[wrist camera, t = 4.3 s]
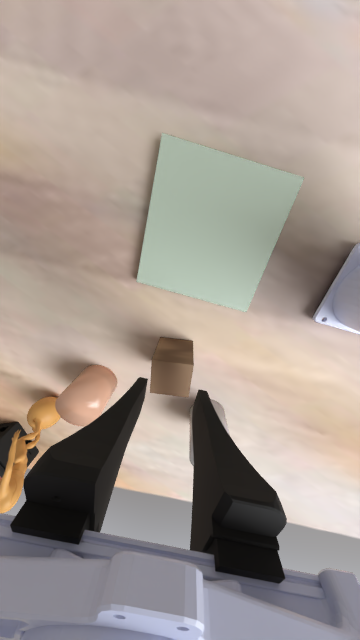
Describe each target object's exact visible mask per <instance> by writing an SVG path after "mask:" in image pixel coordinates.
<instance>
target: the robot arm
mask: <svg viewBox="0 0 360 640" xmlns="http://www.w3.org/2000/svg"><path fill="white" fill-rule="evenodd" d="M322 318H324V320H322ZM313 320H314V321H315V322H317V323H321V324H325V325H328V326H332V327H335V328H339V329H342V330H346V331H349V332H353V333H357V334H360V243H357V244H356V245H355V246H354V248H353V249H352V251H351V253H350V254H349V256H348V258H347V260H346V261H345V263H344V265H343V266H342V268H341V270H340V271H339V273H338V275H337V277H336V278H335V280H334V282H333V283H332V285H331V287H330V288H329V290H328V292H327V294H326V295H325V297H324V299H323V300H322V302H321V304H320V305H319V307H318V309H317V311H316V312H315V314H314V316H313ZM147 380H148V379H146V378H141V377H140V378H138V379H137V381H136V382H135V383H134V384H133V386H132V387H131V388H130V389H129V390H128V391H127V392H126V393H125V394H124V395H123V396H122V397H121V398H120V399H119V400H118V401H117V402H116V403H115V404H114V405H113V406H112V407H111V408H109V409H108V410H107V411H106V412H105V413H103V414H102V415H101V416H99V417H98V418H97V419H95V420H94V421H93V422H91V423H90V424H88V425H87V426H85V427H84V428H82V429H81V430H79V431H77V432H76V433H74V434H73V435H71V436H69V437H67V438H66V439H64V440H62V441H60V442H58V443H56V444H55V445H53V446H51V447H50V448H49V449H48V450H47V451H46V452H45V453H44V454H43V455H42V457H41V458H40V459H39V460H38V461H37V463H36V464H35V465H34V466H33V468H32V469H31V471H30V472H29V473H28V475H27V476H26V477H25V479H24V491H25V495H26V500H27V501H26V502H25V504H24V505H23V506H22V508H21V509H20V511H19V513H18V514H17V515H16V516H12V515H7V514H2V513H0V640H360V584H359V582H358V580H357V578H356V576H355V575H354V574H353V573H351V572H347V571H342V570H337V569H331V568H327V569H323V570H321V571H320V572H319V573H318V575H315V574H309V573H304V572H299V571H294V570H289V569H284V568H282V565H281V562H280V559H279V555H278V551H277V550H279V544H278V541H277V537H276V536H277V535H278V534H279V533H280V532H281V530H282V529H283V528H284V527H285V525H286V520H287V518H286V516H285V513H284V510H283V507H282V505H281V502H280V500H279V498H278V495H277V493H276V491H275V490H274V489H273V488H272V487H271V486H270V485H269V484H268V483H267V482H266V481H265V480H264V479H263V478H262V477H261V476H260V474H259V473H258V472H257V471H256V470H255V469H254V468H253V466H252V465H251V464H250V463H249V462H248V460H247V459H246V458H245V457H244V455H243V454H242V453H241V451H240V450H239V449H238V447H237V446H236V445H235V443H234V442H233V440H232V439H231V437H230V436H229V434H228V433H227V431H226V429H225V427H224V426H223V424H222V422H221V420H220V419H219V417H218V415H217V413H216V411H215V409H214V407H213V404H212V402H211V400H210V398H209V395H208V393H207V391H203V390H198V393H197V397H196V400H195V403H194V406H193V411H192V435H193V453H194V479H193V506H192V525H191V542H190V543H191V544H190V550H186V549H181V548H176V547H171V546H166V545H160V544H155V543H150V542H145V541H140V540H135V539H130V538H125V537H119V536H115V535H109V534H105V533H100V530H101V527H102V524H103V520H104V517H105V514H106V510H107V507H108V504H109V501H110V497H111V494H112V490H113V487H114V484H115V481H116V478H117V475H118V471H119V468H120V465H121V462H122V459H123V456H124V452H125V449H126V447H127V444H128V441H129V439H130V436H131V434H132V432H133V429H134V427H135V424H136V422H137V419H138V417H139V414H140V412H141V408H142V405H143V402H144V398H145V392H146V386H147Z"/></svg>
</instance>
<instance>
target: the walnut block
mask: <svg viewBox="0 0 360 640" xmlns="http://www.w3.org/2000/svg"><path fill="white" fill-rule="evenodd" d="M193 365H194V363H193V341H189V340H181V339H173V338H164V337H160V340H159V342H158V345H157V348H156V350H155V353H154V356H153V358H152V366H151V384H150V393H157V394H165V395H172V396H180V397H189V391H190V384H191V378H192V372H193Z"/></svg>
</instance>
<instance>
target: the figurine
mask: <svg viewBox="0 0 360 640" xmlns="http://www.w3.org/2000/svg"><path fill="white" fill-rule="evenodd" d="M56 399H57V398H56V397H45V398H42V399H40V400H38V401H37V402H36V403H34V404H33V405H32V407H31V408H30V409H29V411H28V414H27V421H28V424H29V425H30V426H31V427H32V430H33V431H34V433H30V434H28V435H26V436H23V437H21V438H19V439H18V437H19V433H20V431H21V430H20V431H19V430H18V431H19V433H18V431H17V433H16V432H15V434H14V437H12V444H11V447H10V451H9V457H8V462H7V465H6V469H5V472H4V475H3V477H2V478H1V479H0V513H5V512H7V511H9V510H10V509H11V508H12V507H13V506H14V505H15V504H16V502H17V501H18V499H19V497H20V494H21V491H22V487H23V483H24V474H25V472H26V469H27V461H28V459H27V455H26V454H27V449H31V448H33V447H34V446H35V445H36V443H37V442H38V441H39V439H40V431H41V429H46V428H48V427H51V426H52V425H54V424H55V423H56V422H57V421H58V420H59V419H60V418H61V417H60V415H59V414H58V413H57V411H56V408H55V402H56ZM33 438H35V440H34V441H32V442H30V443H28V444H27V445H26V443H25V440H31V439H33ZM17 439H18V440H17ZM13 463H15V464H14V465H13Z"/></svg>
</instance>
